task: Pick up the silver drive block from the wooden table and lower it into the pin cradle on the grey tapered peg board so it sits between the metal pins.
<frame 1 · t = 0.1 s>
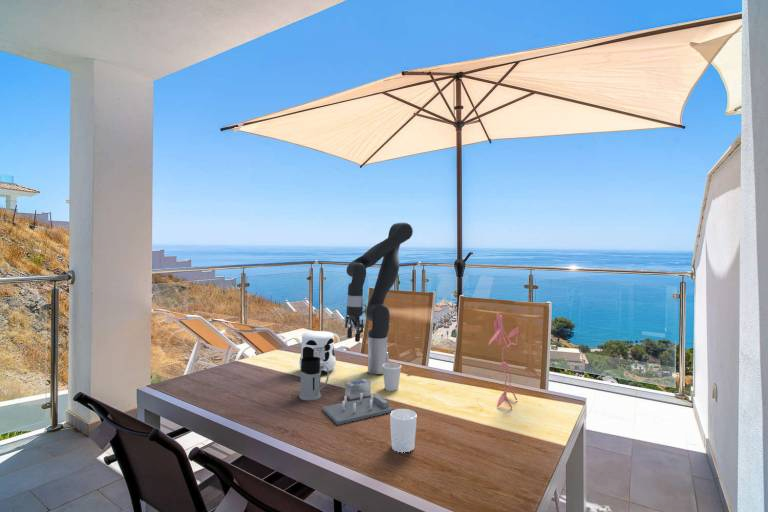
hand: (353, 339, 179), 17 cm above the table, tool pointing down, fingers open, 8 cm apart
grey tapered peg board: (357, 411, 140), on the table
figurine: (497, 402, 150), on the table
dixie cup: (391, 389, 163), on the table
milk container: (317, 371, 186), on the table
white cup: (402, 448, 114), on the table
white and black mug: (315, 398, 152), on the table
drive: (357, 395, 155), on the table
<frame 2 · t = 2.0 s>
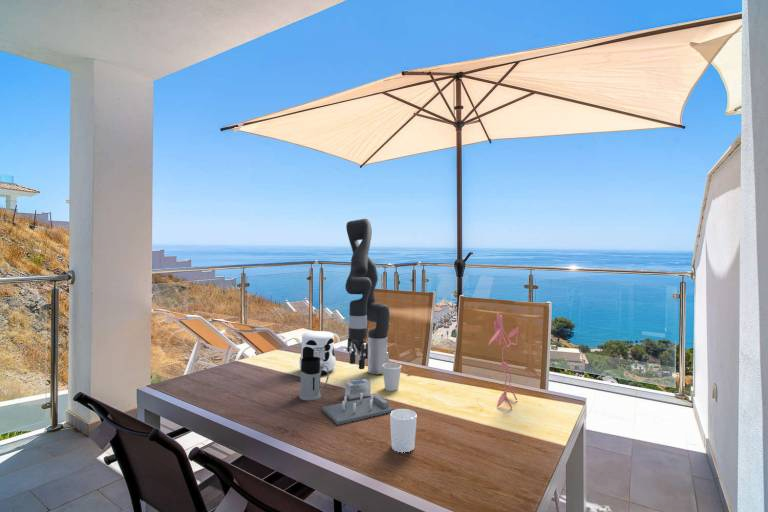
hand: (356, 366, 155), 12 cm above the table, tool pointing down, fingers open, 8 cm apart
nothing on the table moved.
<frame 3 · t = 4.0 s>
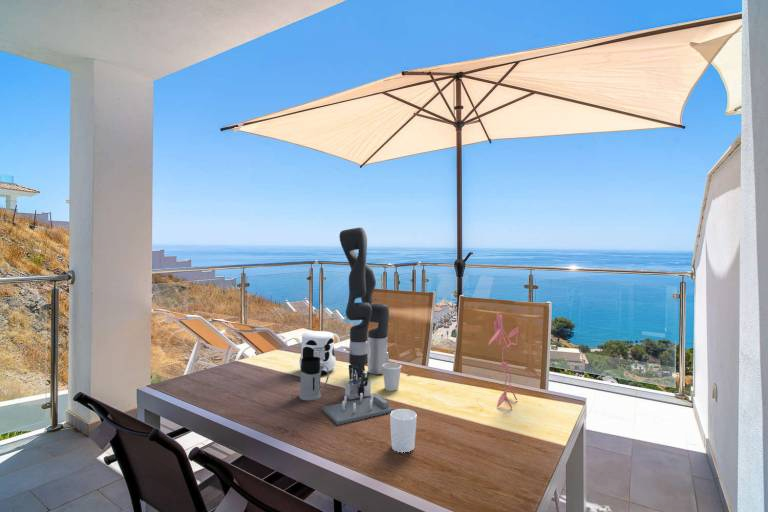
hand: (358, 393, 155), 1 cm above the table, tool pointing down, fingers closed on drive, 5 cm apart
drive: (357, 395, 155), on the table, touching gripper
everything else where it was.
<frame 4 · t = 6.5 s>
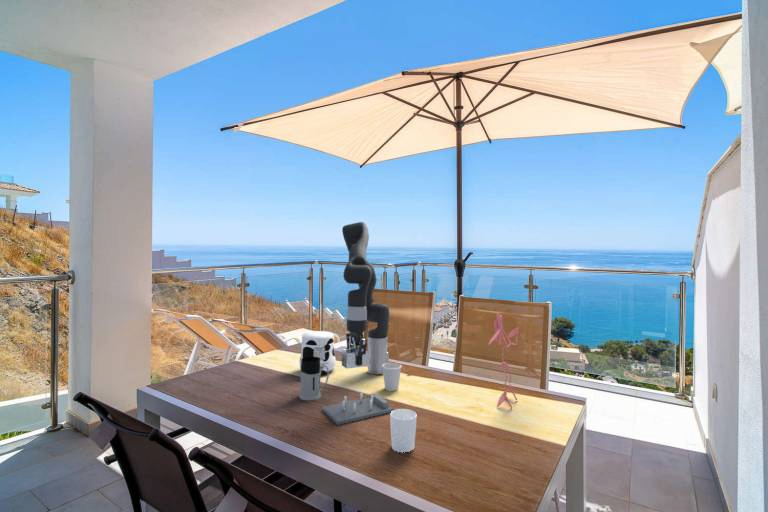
hand: (355, 363, 143), 16 cm above the table, tool pointing down, fingers closed on drive, 5 cm apart
drive: (355, 365, 143), point 16 cm above the table, touching gripper
everything else where it was.
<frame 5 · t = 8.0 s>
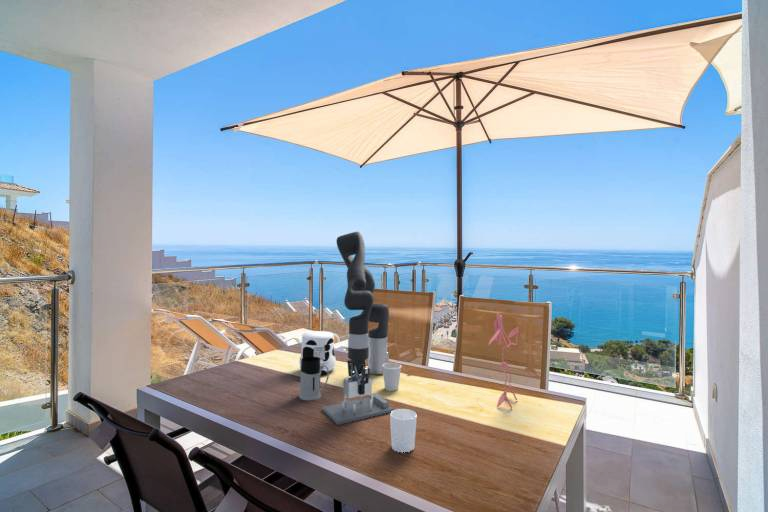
hand: (357, 391, 140), 7 cm above the table, tool pointing down, fingers closed on drive, 5 cm apart
drive: (357, 393, 140), point 6 cm above the table, touching gripper
everything else where it was.
when the fingers open (3 cm above the table, at t = 9.2 s): drive drops 1 cm, resting on grey tapered peg board.
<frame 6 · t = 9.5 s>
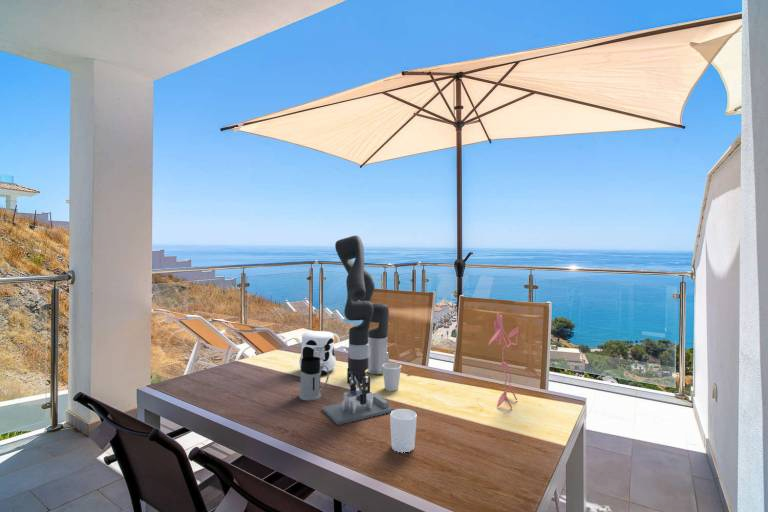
hand: (358, 400, 140), 4 cm above the table, tool pointing down, fingers open, 7 cm apart
drive: (357, 407, 140), point 1 cm above the table, touching grey tapered peg board
everything else where it was.
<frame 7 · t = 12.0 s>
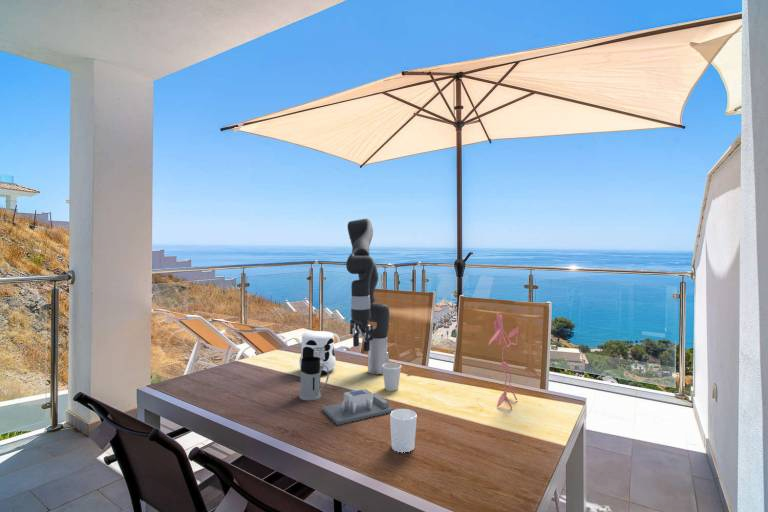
hand: (361, 348, 149), 21 cm above the table, tool pointing down, fingers open, 8 cm apart
nothing on the table moved.
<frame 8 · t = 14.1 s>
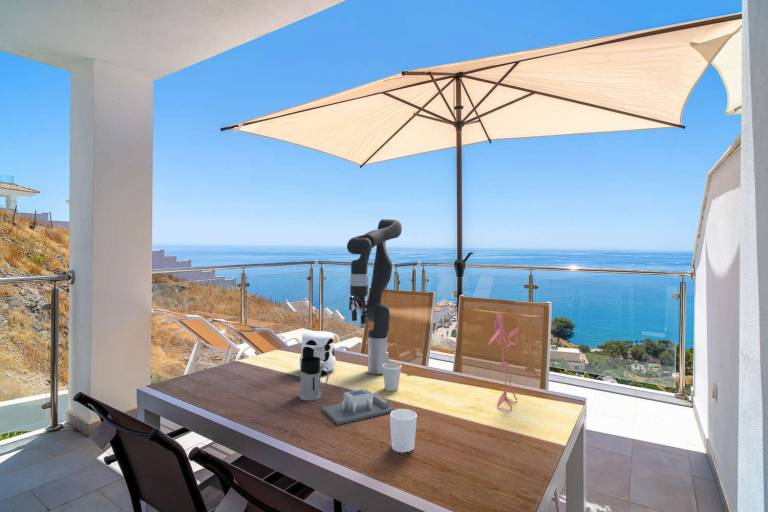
hand: (358, 322, 164), 28 cm above the table, tool pointing down, fingers open, 8 cm apart
nothing on the table moved.
at the end: drive 0.1 cm off-centre on the grey tapered peg board, point 1.2 cm above the grey tapered peg board's base; drive tilted 0°; the gripper is holding nothing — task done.
